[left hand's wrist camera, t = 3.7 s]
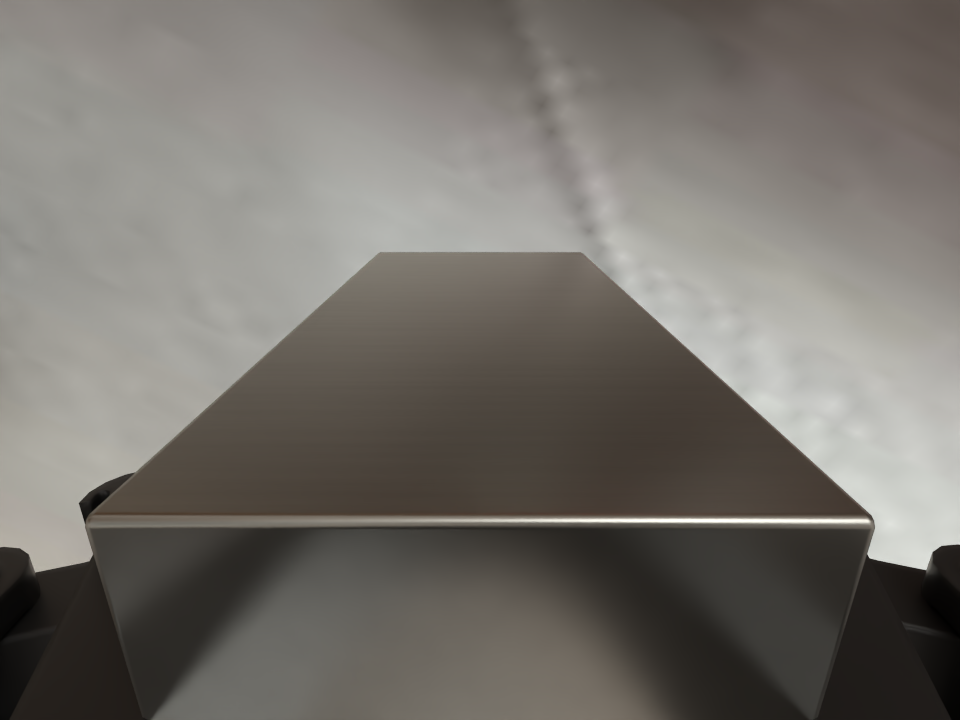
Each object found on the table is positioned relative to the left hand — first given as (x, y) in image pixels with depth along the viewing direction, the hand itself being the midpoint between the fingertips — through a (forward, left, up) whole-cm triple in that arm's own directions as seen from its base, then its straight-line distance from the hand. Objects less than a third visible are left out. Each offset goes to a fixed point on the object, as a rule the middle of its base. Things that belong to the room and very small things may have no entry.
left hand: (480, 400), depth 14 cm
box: (+3, +6, -3) cm, 8 cm away
